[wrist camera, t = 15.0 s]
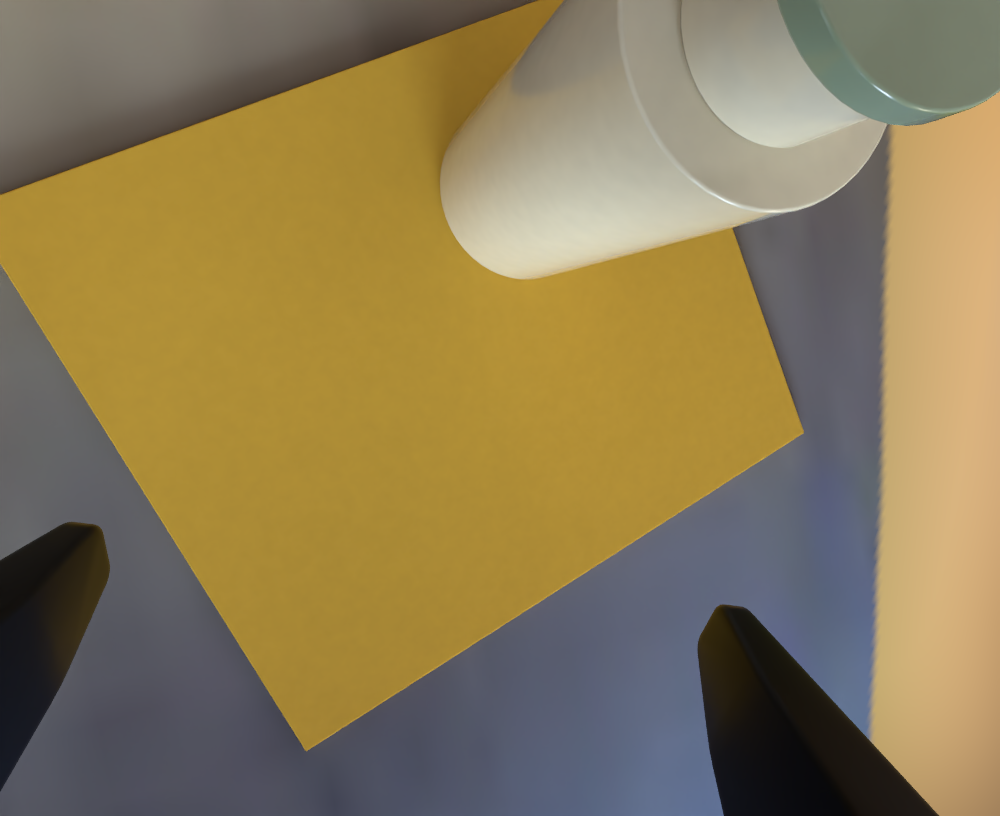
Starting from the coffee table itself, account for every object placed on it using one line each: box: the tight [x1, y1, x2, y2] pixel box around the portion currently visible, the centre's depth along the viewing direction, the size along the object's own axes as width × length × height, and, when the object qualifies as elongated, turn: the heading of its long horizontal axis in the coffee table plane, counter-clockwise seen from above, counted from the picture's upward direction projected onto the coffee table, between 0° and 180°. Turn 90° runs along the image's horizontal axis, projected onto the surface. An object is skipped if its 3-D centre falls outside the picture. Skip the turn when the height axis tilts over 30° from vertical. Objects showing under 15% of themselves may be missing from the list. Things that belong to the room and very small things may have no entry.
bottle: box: [440, 0, 1000, 279], centre depth 13 cm, size 5×5×12 cm
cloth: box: [0, 0, 804, 751], centre depth 19 cm, size 19×16×1 cm
